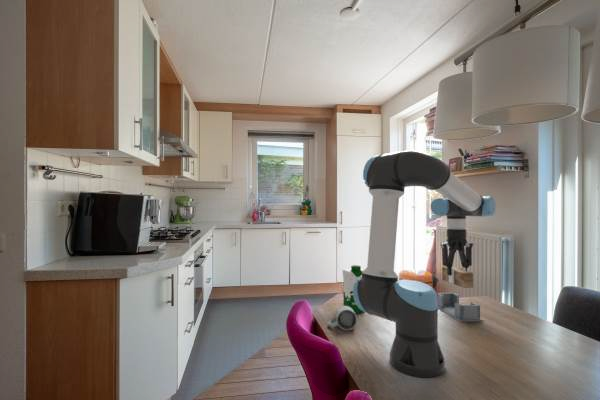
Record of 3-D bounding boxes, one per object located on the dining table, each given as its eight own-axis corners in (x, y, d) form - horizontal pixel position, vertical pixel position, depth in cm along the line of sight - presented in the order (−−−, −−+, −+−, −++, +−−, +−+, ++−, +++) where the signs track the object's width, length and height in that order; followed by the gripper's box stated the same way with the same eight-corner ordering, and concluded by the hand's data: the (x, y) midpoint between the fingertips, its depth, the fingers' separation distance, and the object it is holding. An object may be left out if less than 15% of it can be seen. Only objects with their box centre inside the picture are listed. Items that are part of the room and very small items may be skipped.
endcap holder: (483, 320, 127) (483, 305, 127) (459, 321, 126) (459, 306, 126) (454, 305, 147) (454, 292, 147) (434, 305, 146) (433, 292, 146)
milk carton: (349, 315, 135) (349, 267, 135) (340, 308, 143) (340, 264, 143) (367, 312, 137) (367, 266, 138) (357, 306, 146) (357, 263, 146)
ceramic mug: (354, 322, 126) (353, 303, 126) (357, 330, 118) (357, 309, 118) (327, 322, 126) (327, 303, 126) (329, 331, 118) (328, 310, 118)
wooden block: (473, 287, 130) (473, 272, 130) (464, 288, 129) (464, 273, 129) (450, 279, 144) (449, 266, 144) (442, 280, 143) (442, 266, 143)
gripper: (470, 227, 141) (471, 279, 141) (432, 228, 140) (433, 281, 139) (481, 228, 134) (482, 284, 133) (441, 229, 132) (442, 285, 132)
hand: (457, 282), depth 136 cm, fingers closed on wooden block, 4 cm apart
